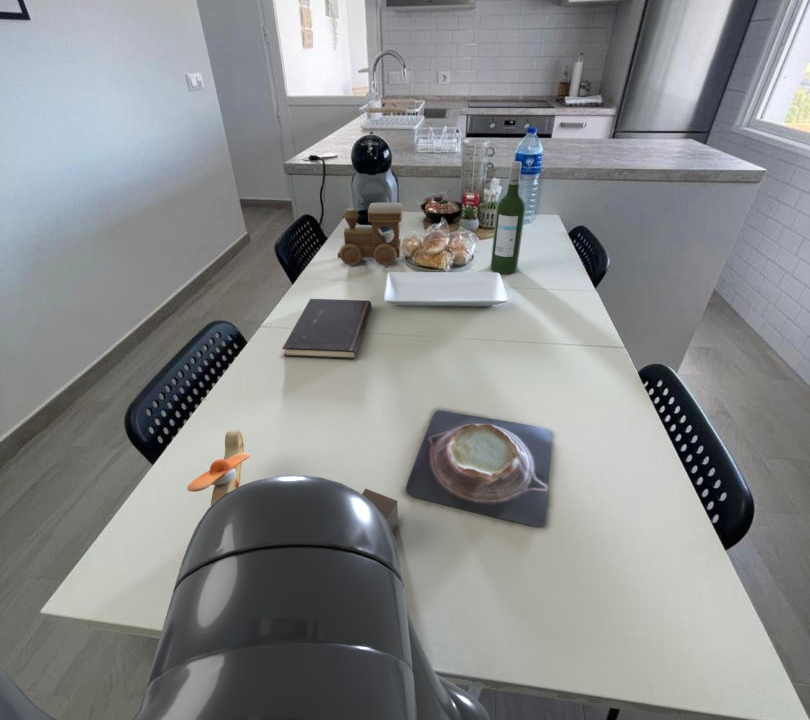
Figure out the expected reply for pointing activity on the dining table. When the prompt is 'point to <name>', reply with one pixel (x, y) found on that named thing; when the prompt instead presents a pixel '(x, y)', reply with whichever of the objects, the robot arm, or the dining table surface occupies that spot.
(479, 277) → the tray
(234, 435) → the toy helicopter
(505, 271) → the wine bottle
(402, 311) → the dining table surface
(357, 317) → the hardcover book
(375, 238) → the wooden toy train
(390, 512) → the walnut block
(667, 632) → the dining table surface
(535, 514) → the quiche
